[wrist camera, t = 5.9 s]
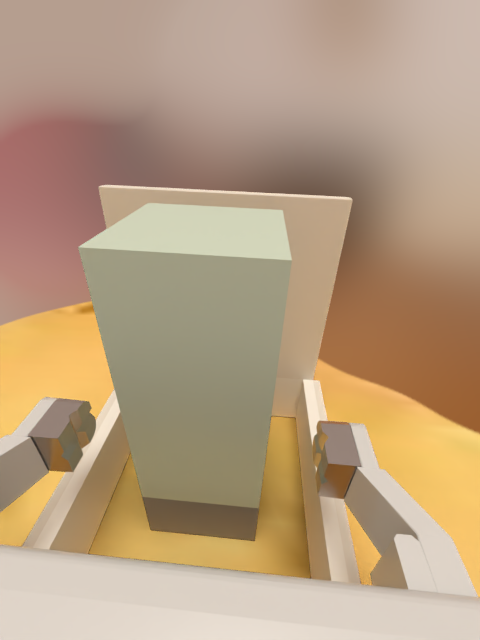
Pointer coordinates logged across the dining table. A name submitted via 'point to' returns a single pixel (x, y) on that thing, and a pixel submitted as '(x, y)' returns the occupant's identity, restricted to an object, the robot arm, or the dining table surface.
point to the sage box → (194, 354)
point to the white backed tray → (290, 389)
